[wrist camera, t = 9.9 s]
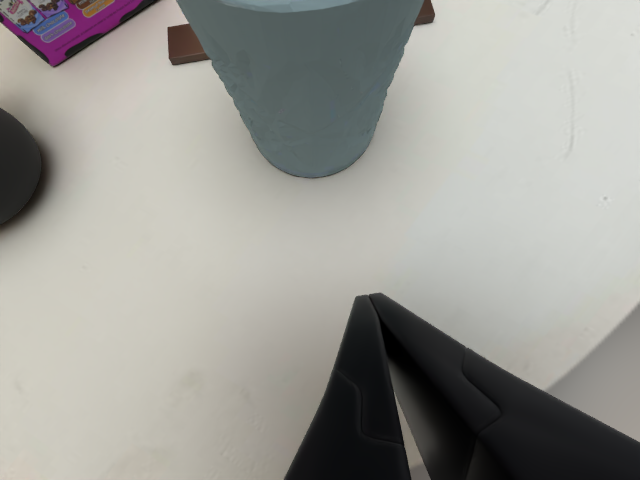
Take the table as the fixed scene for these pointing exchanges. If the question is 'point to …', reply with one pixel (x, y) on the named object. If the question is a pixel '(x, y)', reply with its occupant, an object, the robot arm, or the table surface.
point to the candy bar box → (64, 23)
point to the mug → (16, 165)
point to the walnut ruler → (189, 49)
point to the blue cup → (306, 71)
